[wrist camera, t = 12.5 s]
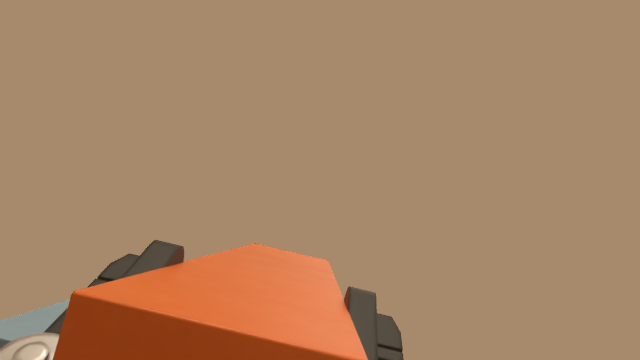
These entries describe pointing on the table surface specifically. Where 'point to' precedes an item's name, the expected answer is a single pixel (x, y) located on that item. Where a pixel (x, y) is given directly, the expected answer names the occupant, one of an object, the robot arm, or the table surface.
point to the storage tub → (30, 322)
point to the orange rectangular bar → (215, 312)
